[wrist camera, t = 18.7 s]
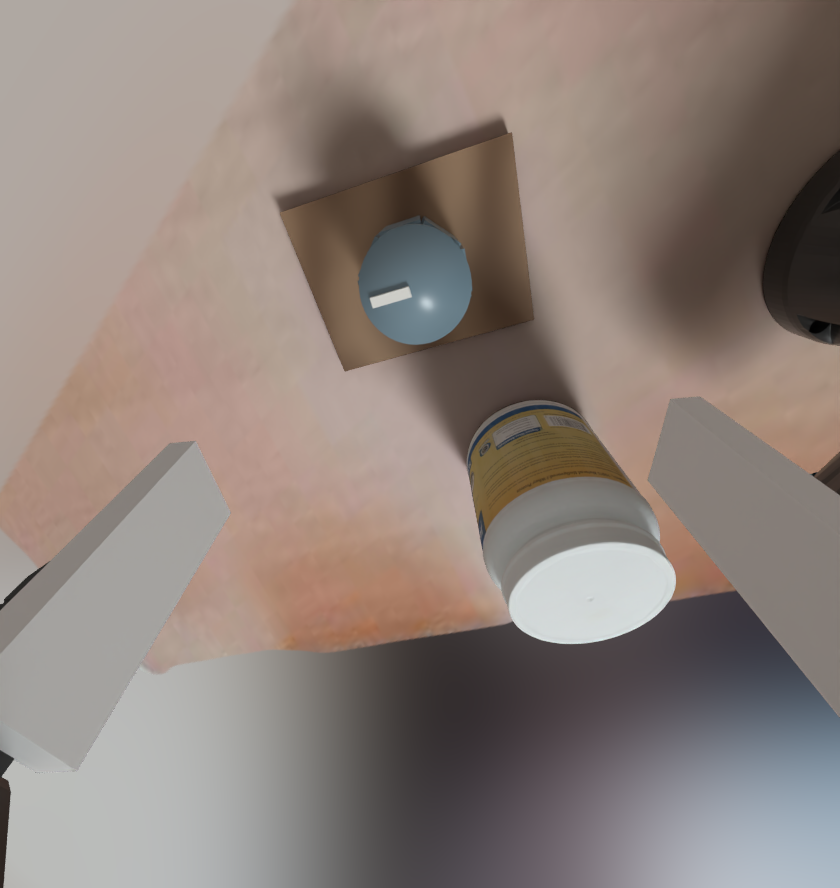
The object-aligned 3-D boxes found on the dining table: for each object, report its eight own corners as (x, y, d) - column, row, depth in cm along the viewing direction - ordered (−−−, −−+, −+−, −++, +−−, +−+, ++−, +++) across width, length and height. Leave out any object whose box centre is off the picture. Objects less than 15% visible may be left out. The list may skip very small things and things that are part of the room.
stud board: (508, 134, 25) (529, 120, 20) (530, 316, 31) (550, 336, 27) (283, 212, 27) (256, 215, 23) (346, 367, 33) (334, 394, 29)
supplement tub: (439, 452, 38) (451, 602, 24) (537, 367, 34) (624, 492, 19) (517, 514, 43) (566, 671, 29) (613, 447, 38) (729, 596, 24)
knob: (449, 205, 26) (458, 207, 20) (469, 302, 30) (482, 329, 23) (358, 235, 27) (340, 246, 21) (387, 325, 31) (379, 358, 24)
